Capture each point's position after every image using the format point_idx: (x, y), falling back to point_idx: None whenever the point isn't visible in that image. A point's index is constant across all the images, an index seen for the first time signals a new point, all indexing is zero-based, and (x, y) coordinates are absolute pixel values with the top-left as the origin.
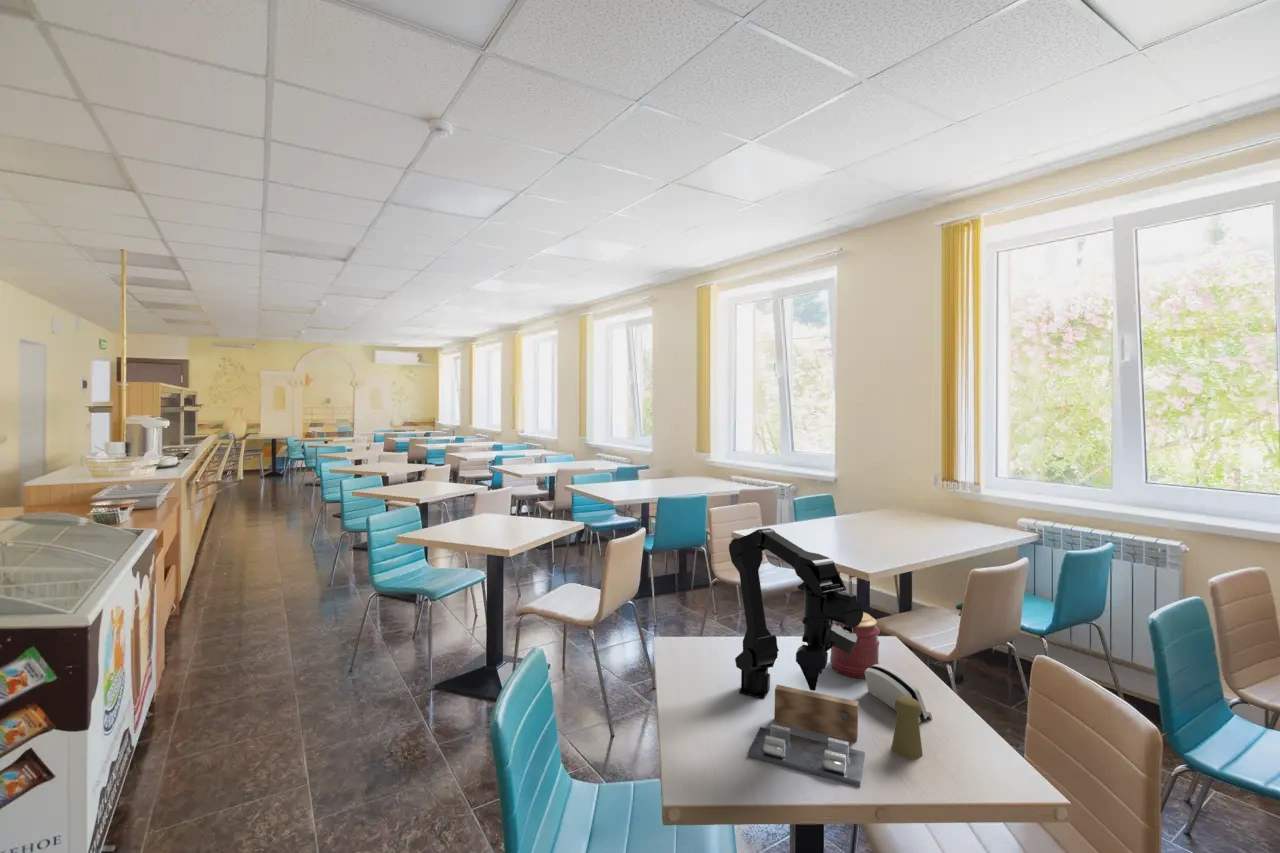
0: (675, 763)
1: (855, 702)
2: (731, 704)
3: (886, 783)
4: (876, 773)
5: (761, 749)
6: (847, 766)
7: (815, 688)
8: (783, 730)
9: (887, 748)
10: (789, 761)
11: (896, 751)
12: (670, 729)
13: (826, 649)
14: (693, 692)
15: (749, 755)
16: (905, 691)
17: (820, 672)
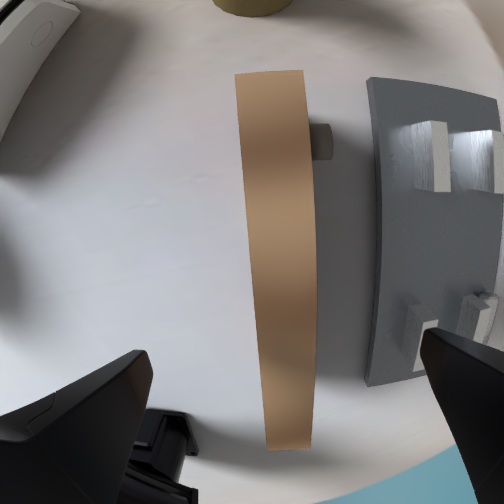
0: None
1: (256, 86)
2: (260, 453)
3: (446, 40)
4: (425, 56)
5: None
6: (466, 127)
7: (446, 332)
8: None
9: (273, 25)
10: (492, 274)
11: (287, 1)
12: (402, 470)
13: (12, 458)
14: (252, 495)
15: None
16: (23, 7)
17: (142, 359)
